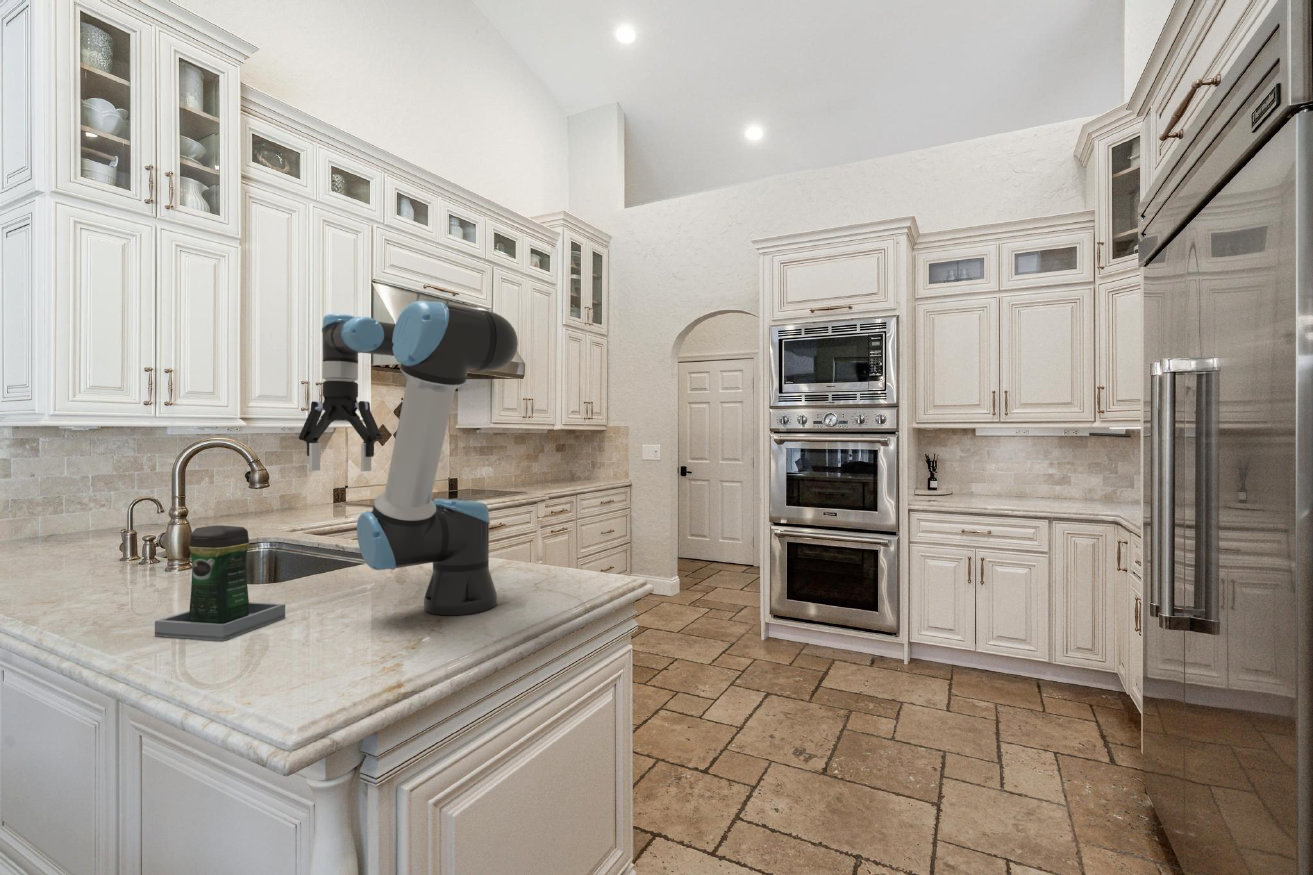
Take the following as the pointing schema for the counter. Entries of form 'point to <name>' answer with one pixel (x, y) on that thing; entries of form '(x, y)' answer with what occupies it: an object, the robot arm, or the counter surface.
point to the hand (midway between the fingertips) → (340, 470)
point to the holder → (220, 632)
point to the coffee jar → (219, 574)
